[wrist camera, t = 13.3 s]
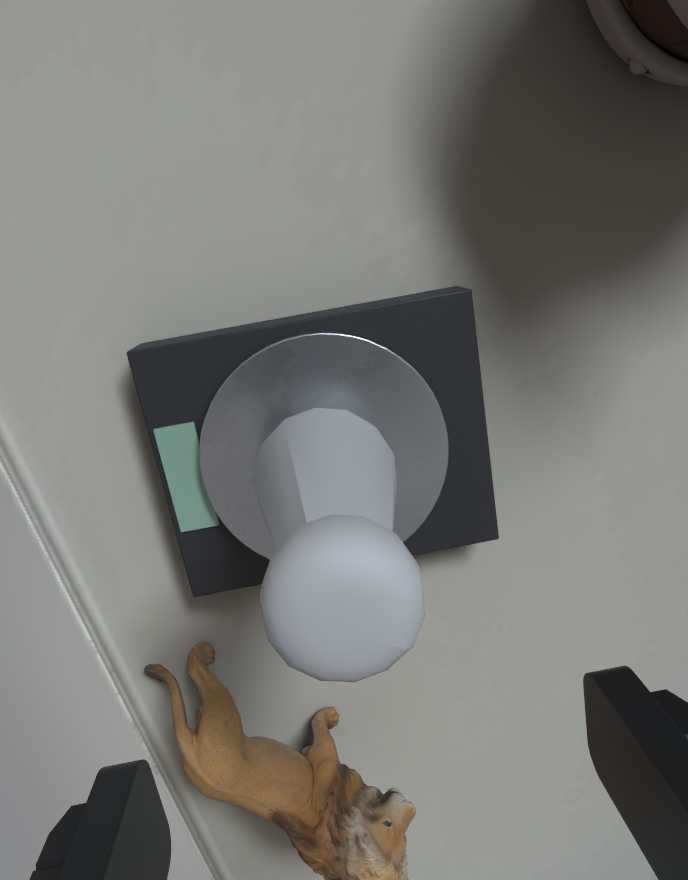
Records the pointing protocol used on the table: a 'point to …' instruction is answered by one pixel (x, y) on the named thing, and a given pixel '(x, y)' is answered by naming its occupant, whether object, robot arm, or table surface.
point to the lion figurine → (290, 783)
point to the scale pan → (332, 387)
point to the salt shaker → (335, 548)
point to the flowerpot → (647, 35)
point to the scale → (385, 321)
